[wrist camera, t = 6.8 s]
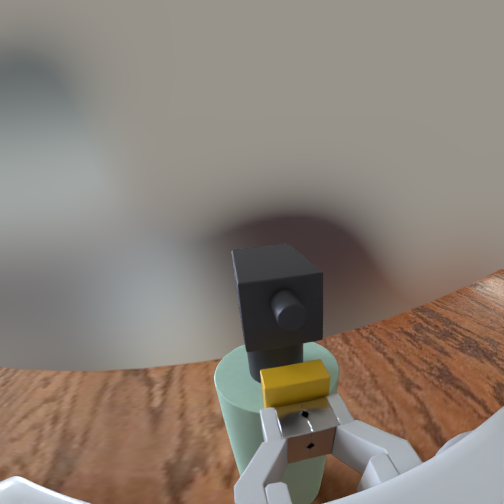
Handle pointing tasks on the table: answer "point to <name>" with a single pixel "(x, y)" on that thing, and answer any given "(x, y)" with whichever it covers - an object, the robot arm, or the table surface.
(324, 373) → the block
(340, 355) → the table surface
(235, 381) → the spray bottle
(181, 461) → the table surface
